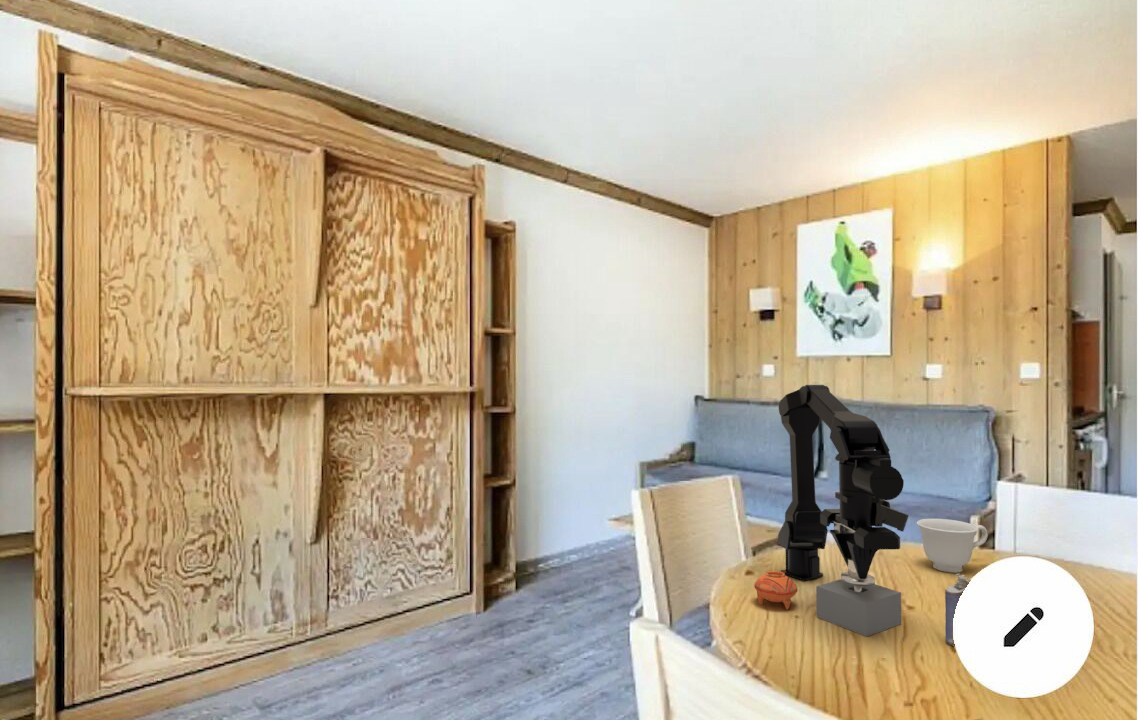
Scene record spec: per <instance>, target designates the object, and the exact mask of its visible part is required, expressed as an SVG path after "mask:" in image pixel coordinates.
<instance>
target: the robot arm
mask: <svg viewBox="0 0 1138 720" xmlns="http://www.w3.org/2000/svg"><path fill="white" fill-rule="evenodd" d="M778 412H779V415H780V419H781V424H782V426H783V427H784V429H785V430H786V432H787V433H788V435H789V447H790V449H789V450H790V451H789V452H790V454H789V455H790V471H791V473H790V474H791V475H790V476H791V479H790V480H791V502H790V504H789V505H788V507H787V509H786V510H785V514H784V522H783V524H782V526H781V528H780V530H779V532H778V534H777V538H778V544H779V545H780V546H781V547H783V548H784V549H785V569H781V570H780V572H783V573H785V576H788V577H789V576H790V577H791V578H795V579H798V580H800V581H809V580H812V579H816V578H820V577H823V576H824V573H822V572H821V571H820V568H821V567H820V560H821V558H820V556H819V550H825V549H826V548H825V547H826V543H827V537H828V530H829V533H830V534H831V535H832V538H833V540H834V542H835V543H836V546H837V547H838V549H839V552H840V553H841V555H842V558H843V560H844V562H845V565H846V567H847V568H848V558H851V557H852V559H853V562H854V565H855V568H856V571H857V574H858V577H859V578H860V579H866V577H867V574H869V571H870V569H871V566H872V562H873V560H874V557H875V555H876V553H877V552H878V551H880V550H900V549H901V536H899V535H898V534H897V532H895V531H894V530H892V529H890V528H888V527H891V528H894V529H896V530H897V531H899V532H904V530H905V527H906V524H907V522H908V519H909V514H907V513H904V512H902V511H900V510H897V509H894V508H891V504H890V502H889V501H891V500H894V499H896V498H897V497H899V496H900V495H901V493H902V491H903V489H904V482H905V481H904V479H903V476H902V474H901V472H900V471H899V470H898V469H897V468H895V467H894V466H892V460H891V455H890V451H891V450H890V448H889V446H888V444H887V443H886V441H885V439H884V436H883V435H882V431H881V429H880V427H879V426H878V424H877V422H875V420H873V419H871V418H869V417H867V416H865V415H862V414H857V413H854V412H852V411H851V410H849V408H847V406H845V405H844V404H843V403H842V402H841V401H840V400H839V399H838V398H837V397H836V396H835V395H834V394H833V392H831V391H830V388H829V387H828V386H827V385H824V384H805V385H802V386H801V387H800V388H799V389H797V390H795V391H791V392H790V393H787V394H785V395H784V396H783V397H782V398H781V399H780V401H779V402H778ZM821 421H822V422H824V424H825V425H826V426H827V427H828V429H829V430H830V434H829V439H830V440H831V442H832V444H833V445H834V448H835V449H836V451H837V452H838V453H837V454H836V456H834V459H835V461H838V469H839V471H838V472H839V473H838V474H839V475H838V476H839V477H838V478H839V479H838V480H839V483H838V485H839V488H838V489H839V491H835V492H834V495H835V496H834V497H835V499H837V500H839V508H825V509H823V510H821V509H820V506H819V505H818V503H817V502H816V482H815V462H814V458H815V457H814V434H815V432H816V431H817V429H818V427H819V426H820V424H821ZM831 524H833V529H828V527H830V525H831ZM883 525H887V526H888V527H885V526H883Z"/></svg>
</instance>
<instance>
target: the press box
mask: <svg viewBox="0 0 1138 720" xmlns="http://www.w3.org/2000/svg"><path fill="white" fill-rule="evenodd" d="M815 591H816V592H815V593H816V594H815V598H816V602H815V604H816V618H818V619H822V620H824V621H827V622H829V623H831V624H834V625H837V626H839V627H841V628H844V629H847V630H849V631H852V632H855V633H857V634H859V635H861V636H864V637H869V636H873V635H875V634H878V633H880V632H883V631H886V630H889V629H892V628H894V627H897V626H900V625H902V592H901V591H897V590H894V589H891V588H888V587H884V586H881V585H878V584H876V583H875V584H874V585H873V586H862V592H861V593H859V592H856V591H854V585H850V584H847V583H845V582H843V581H842V580H841V578H840V579H838V580H833V581H830V582H826V583H825V582H824V583H823V584H819V585H816V586H815Z"/></svg>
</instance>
